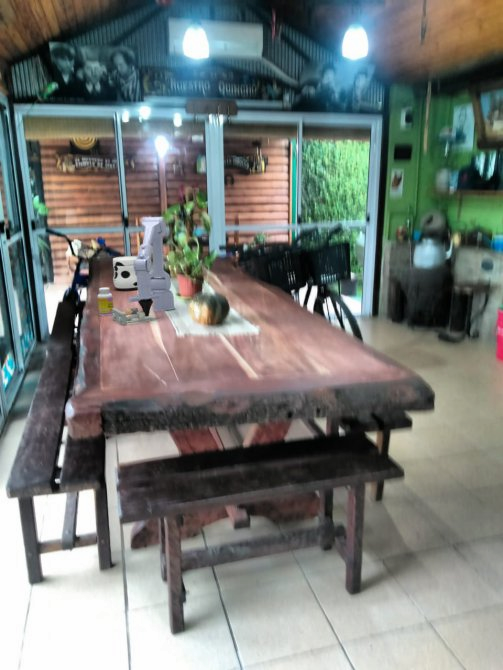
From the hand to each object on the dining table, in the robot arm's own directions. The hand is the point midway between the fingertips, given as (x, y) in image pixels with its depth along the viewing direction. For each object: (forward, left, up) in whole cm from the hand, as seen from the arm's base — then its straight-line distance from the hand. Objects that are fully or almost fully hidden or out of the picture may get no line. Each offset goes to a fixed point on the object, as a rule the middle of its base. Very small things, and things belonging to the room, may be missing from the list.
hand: (146, 315), depth 232 cm
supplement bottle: (+11, -22, -2) cm, 25 cm away
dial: (+7, -4, -2) cm, 8 cm away
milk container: (-21, -78, -2) cm, 81 cm away
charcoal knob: (+7, -8, -1) cm, 10 cm away
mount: (+5, -4, -2) cm, 6 cm away
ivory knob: (+7, 0, -1) cm, 7 cm away
